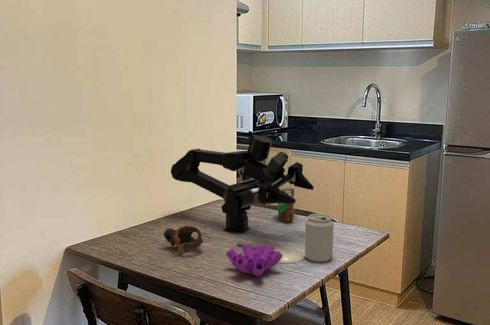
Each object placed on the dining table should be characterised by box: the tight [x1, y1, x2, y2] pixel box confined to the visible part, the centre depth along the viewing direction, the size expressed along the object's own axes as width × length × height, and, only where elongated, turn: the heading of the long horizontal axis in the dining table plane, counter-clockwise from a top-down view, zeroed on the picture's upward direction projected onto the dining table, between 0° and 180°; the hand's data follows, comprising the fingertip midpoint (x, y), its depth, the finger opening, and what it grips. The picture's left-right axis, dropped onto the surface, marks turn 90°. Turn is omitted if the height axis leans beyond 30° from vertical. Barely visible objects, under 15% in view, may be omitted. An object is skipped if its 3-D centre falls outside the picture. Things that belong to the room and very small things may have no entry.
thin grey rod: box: [236, 241, 265, 251], centre depth 142 cm, size 11×1×1 cm, turn 56°
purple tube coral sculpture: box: [225, 243, 283, 277], centre depth 126 cm, size 11×15×10 cm
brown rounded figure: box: [163, 224, 204, 257], centre depth 141 cm, size 12×10×8 cm
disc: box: [274, 248, 305, 265], centre depth 136 cm, size 10×10×1 cm
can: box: [304, 213, 334, 263], centre depth 134 cm, size 8×8×12 cm
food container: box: [277, 187, 295, 225], centre depth 171 cm, size 12×6×10 cm, turn 172°
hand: (304, 194), depth 142 cm, fingers open, 9 cm apart
